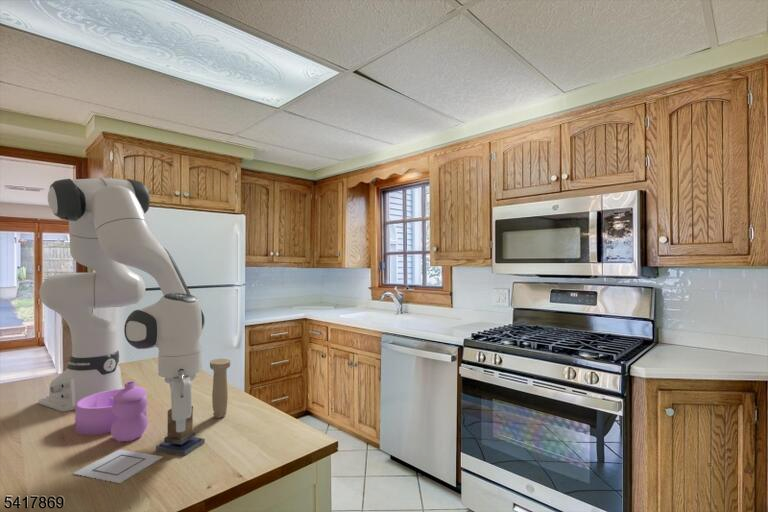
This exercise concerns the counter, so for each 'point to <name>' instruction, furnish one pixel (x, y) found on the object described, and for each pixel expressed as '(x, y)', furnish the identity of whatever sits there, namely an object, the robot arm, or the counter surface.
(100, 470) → the card
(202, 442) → the ink tin
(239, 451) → the counter surface
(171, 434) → the stamp
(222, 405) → the handle
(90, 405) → the container set
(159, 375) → the robot arm
